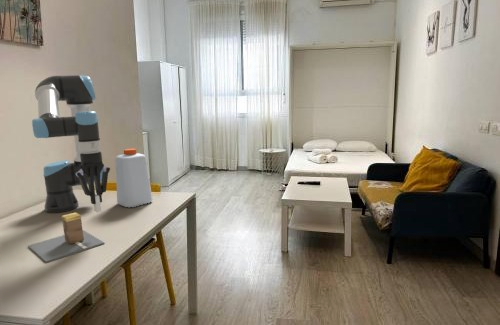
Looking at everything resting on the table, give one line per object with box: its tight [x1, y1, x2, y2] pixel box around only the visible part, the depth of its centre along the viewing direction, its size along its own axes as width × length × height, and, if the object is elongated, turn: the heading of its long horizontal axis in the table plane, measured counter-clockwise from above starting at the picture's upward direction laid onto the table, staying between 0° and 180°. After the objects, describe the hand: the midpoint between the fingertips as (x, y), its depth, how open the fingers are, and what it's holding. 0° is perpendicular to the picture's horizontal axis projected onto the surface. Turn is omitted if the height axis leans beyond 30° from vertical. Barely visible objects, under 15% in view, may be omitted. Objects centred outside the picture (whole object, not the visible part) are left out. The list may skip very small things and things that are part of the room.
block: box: [61, 212, 84, 244], centre depth 136 cm, size 5×5×10 cm
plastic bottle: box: [115, 148, 153, 209], centre depth 183 cm, size 15×15×28 cm
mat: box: [27, 230, 105, 263], centre depth 135 cm, size 20×20×1 cm
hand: (97, 211), depth 142 cm, fingers closed
